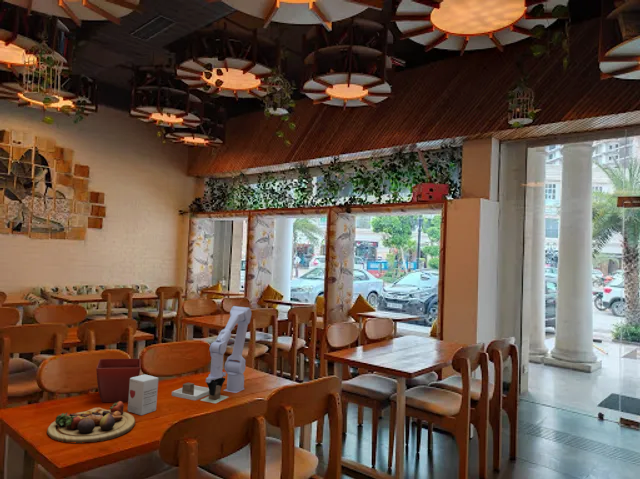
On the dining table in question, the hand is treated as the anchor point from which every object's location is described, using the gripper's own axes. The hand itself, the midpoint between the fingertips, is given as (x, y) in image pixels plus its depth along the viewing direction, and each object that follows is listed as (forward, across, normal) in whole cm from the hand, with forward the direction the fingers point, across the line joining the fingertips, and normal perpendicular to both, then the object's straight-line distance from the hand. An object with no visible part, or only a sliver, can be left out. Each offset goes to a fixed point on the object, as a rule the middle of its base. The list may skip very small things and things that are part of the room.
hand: (214, 393), depth 240 cm
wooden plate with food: (+3, +56, -21) cm, 59 cm away
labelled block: (+2, 0, 0) cm, 2 cm away
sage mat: (+3, 0, 0) cm, 3 cm away
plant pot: (+3, +22, -40) cm, 46 cm away
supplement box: (+3, +30, -18) cm, 36 cm away
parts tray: (+3, 0, -13) cm, 13 cm away
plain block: (+2, +4, -13) cm, 14 cm away
